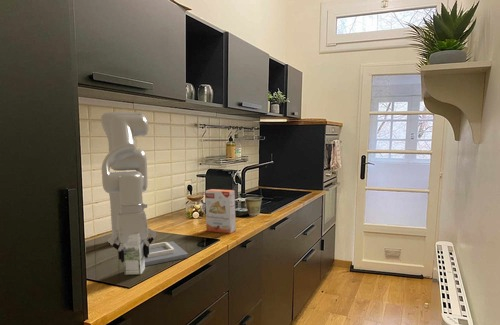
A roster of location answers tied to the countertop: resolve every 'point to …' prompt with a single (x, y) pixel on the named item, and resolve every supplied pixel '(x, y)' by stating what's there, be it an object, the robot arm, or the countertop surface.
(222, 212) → the cracker box
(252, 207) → the ceramic cup
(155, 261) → the base board
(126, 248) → the syrup box
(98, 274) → the countertop surface
